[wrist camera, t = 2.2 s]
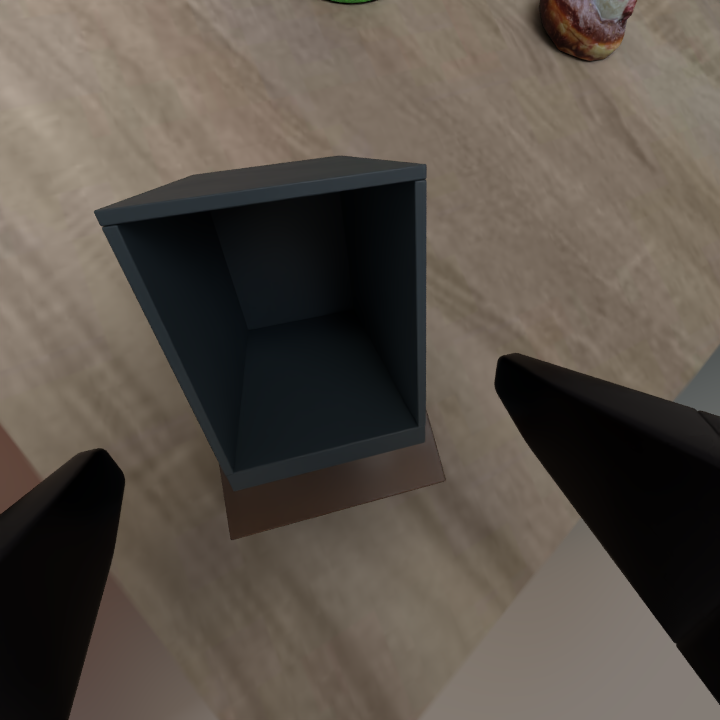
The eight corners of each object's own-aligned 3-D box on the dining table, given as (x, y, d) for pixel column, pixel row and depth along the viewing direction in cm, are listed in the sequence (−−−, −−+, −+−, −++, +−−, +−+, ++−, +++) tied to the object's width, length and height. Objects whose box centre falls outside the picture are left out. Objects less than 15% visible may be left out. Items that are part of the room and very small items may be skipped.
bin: (389, 440, 20) (518, 446, 6) (271, 470, 19) (124, 552, 5) (337, 231, 23) (348, -77, 9) (231, 248, 22) (67, -66, 8)
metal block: (423, 472, 20) (446, 481, 16) (251, 519, 19) (230, 541, 15) (397, 374, 21) (412, 359, 17) (233, 411, 20) (209, 405, 16)
